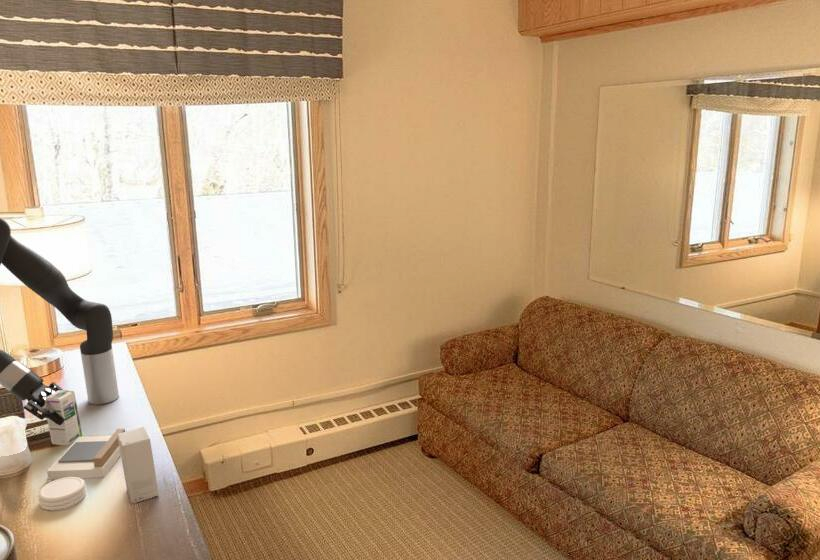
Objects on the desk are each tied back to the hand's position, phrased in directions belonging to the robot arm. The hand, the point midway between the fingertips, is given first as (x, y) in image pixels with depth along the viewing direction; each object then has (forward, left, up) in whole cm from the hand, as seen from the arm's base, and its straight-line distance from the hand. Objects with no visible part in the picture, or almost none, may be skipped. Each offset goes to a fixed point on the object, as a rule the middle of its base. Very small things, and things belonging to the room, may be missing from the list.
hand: (68, 416), depth 181 cm
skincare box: (+29, +30, -8) cm, 42 cm away
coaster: (+30, +11, -8) cm, 33 cm away
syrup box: (0, -2, -8) cm, 8 cm away
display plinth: (+12, +10, -7) cm, 18 cm away
